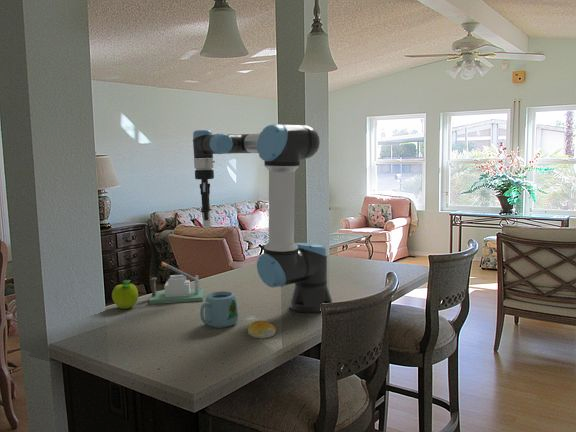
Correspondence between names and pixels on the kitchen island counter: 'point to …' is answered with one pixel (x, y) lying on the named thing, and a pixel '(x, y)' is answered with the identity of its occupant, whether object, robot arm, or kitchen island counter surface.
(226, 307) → the mug
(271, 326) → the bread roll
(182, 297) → the heatsink board
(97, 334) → the kitchen island counter surface
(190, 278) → the wooden stick
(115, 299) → the fruit
